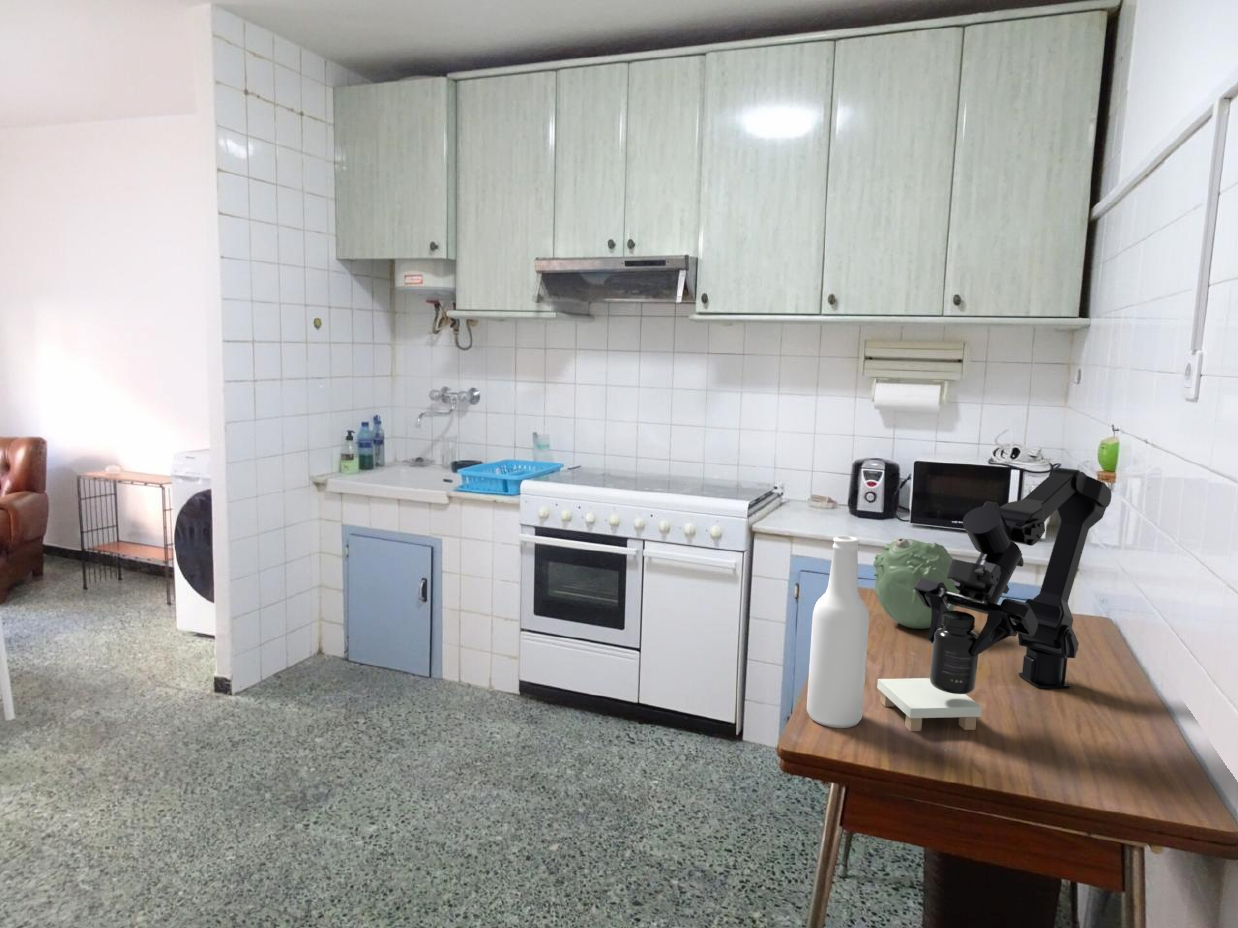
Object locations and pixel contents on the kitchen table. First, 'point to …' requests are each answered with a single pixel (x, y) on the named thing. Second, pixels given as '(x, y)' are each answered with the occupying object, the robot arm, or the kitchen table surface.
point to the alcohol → (839, 643)
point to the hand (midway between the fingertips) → (951, 648)
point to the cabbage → (910, 579)
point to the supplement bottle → (954, 654)
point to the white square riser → (927, 702)
